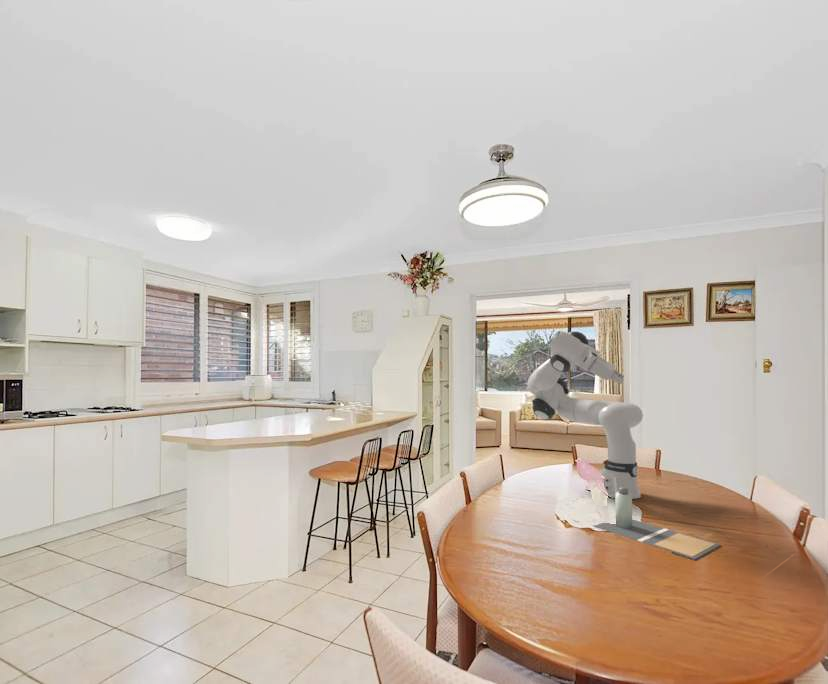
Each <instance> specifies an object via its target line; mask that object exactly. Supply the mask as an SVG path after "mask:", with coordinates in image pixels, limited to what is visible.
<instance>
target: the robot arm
mask: <svg viewBox="0 0 828 684" xmlns="http://www.w3.org/2000/svg"><path fill="white" fill-rule="evenodd" d="M547 346H548V347H549V348H550V358H548V359H547V360H546V361H545V362H543V363H542V364H540V365H539V366H538V367H537V368H535V370H534V371H533V372H532V373H531V374H530V376H529V377H528V380H527V383H526V385H527V390H528V391H529V392H530V393H531V394H532V395H534V399H532V400H531V403H532V411H533V413H534V415H535V416H537V417H538V418H540V419H542V420H552V418H554V417H555V415H556V412H557V414H558V415H559V417H561V418H563V419H565V420H568V421H571V422H577V423H582V424H587V425H588V424H589V425H594V426H602V428H603V429H604V433H605V436H606V442H607V459H606V460H604V461H602V465H604V467H603V468H601V469H600V470H599V471H598V472H600V473H601V474H602V475H603V476H604V477H605V479H604V487H605V489H606V491H607V493H608V495H609V497H611V498H610V499H615V492H618V491H619V487H626V488H628V493H631V494H632V500H633V499H639V498H641V497H642V495H641V492H640V488H639V485H638V484H639V483H638V462H637V452H636V451H637V449H636V448H637V447H636V442H635V441H634V440H633V437H632V434H631V428H635V427H636V426H638V425H639V424H640V423H642V420H643V419H644V418H643V417H644V413H643V410H642V409H641V407H639V406H638V405H637V404H633V403H630V402H620V401H608V400H596V399H595V400H594V399H586V398H577V397H570V396H568V395H569V393H570V390H569V388H568V385H567V384H566V382H565V380H563V378H562V377H561V375H562V373H569V372H570V371H571V370H573V368H574V367H575V365H576V366H578V367H579V368H581V370H584V371H585V372H589V373H591V374H593V375H595V376H597V377H599V378H601V379H603V380H605V381H609V379H610V380H612V381H614V382H616V383H618V384H619V385H621V384H623V383H624V377H625V376H624V374H623V373H620V372H619V371H618V370H617V369H615V365H613V364H612V363H611V362H609V361H607V360H606V359H604V358H603V357H602V356H600V355H599V354H600V351H599V350H597V349H596V348H594V347H592V346H591V345H590V344H589V340H588V338H587V337H586V335H585V334H583V333H582V332H580V331H569V332H566V331H563V330H559V331H557V332H556V333H554V334H553V336H552V337H551V338H550V339H549V341H548V345H547ZM584 489H585V490H586V491H588V490H589V487H588V486H587V485H586V486H585V487H584ZM609 497H608V498H609Z"/></svg>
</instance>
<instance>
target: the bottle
mask: <svg viewBox="0 0 828 684" xmlns="http://www.w3.org/2000/svg"><path fill="white" fill-rule="evenodd" d="M614 499H615V500H614V501H615V503H614V504H615V508H614V509H615V518H616V526H617V527H620V528H624V529H631V528H632V519H633V499H632V494H631V493H628V488H626V487H619V491H618V492H615V498H614Z"/></svg>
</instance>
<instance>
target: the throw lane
mask: <svg viewBox="0 0 828 684" xmlns="http://www.w3.org/2000/svg"><path fill="white" fill-rule="evenodd" d="M593 527H594V528H596V529H599V530H601V531H606V532H609V533H613V534H615V535H617V536H618V535H619V536H621V537H624V538H628V539H631V540H633V541H637V542H641V543H643V544H645V545H650V546H652V547H655V548H658V549H662V550H664V551H668V552H671V554H674V555H677V556H680V557H682V558H686V559H689V560H693V561H696V560H698V559H700V558H702V557H703V556H705V555H707V554H709V553H710V552H712V551H714V550H716V549H718V548H720V547H721V544H720V543H717V542H714V541H710V540H706V539H703V538H700V537H695V536H692V535H689V534H684V533H682V532H678V531H674V530H671V529H669V528H663V527H660V526H658V525H654V524H650V523H647V522H643V521H640V520H636V519H633V518H632V528H631V529H624V528H620V527H617V526H616V524H610V523H604V522H602V523H599V524H596V525H593Z"/></svg>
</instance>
